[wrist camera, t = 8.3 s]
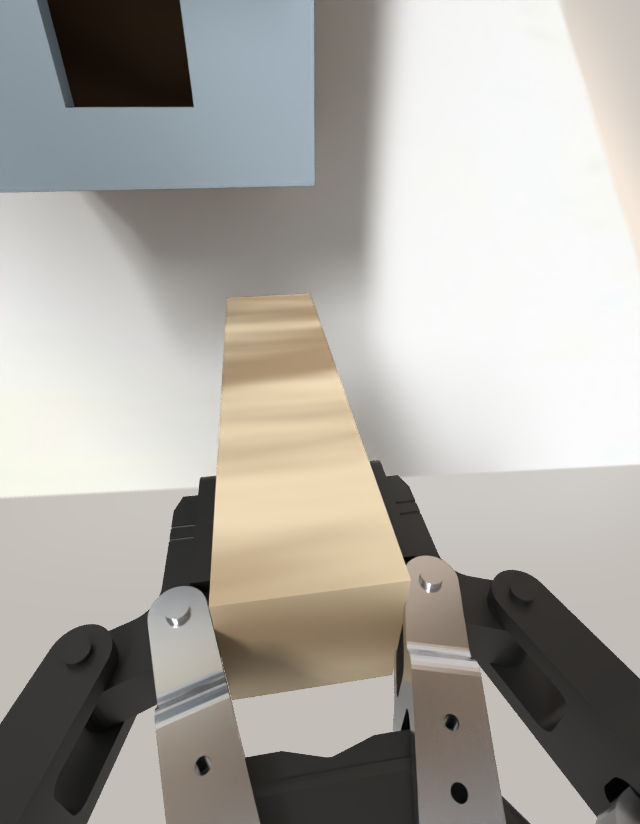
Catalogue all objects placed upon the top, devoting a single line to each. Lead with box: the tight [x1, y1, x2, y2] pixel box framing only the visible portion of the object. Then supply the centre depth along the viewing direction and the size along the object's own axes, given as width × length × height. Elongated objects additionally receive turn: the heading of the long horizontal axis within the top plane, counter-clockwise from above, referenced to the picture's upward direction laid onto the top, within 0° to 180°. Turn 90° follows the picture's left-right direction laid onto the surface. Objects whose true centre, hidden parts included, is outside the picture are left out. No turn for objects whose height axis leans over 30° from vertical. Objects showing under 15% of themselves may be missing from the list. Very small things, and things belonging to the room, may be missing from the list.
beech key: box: [209, 293, 411, 700], centre depth 16 cm, size 4×4×16 cm
